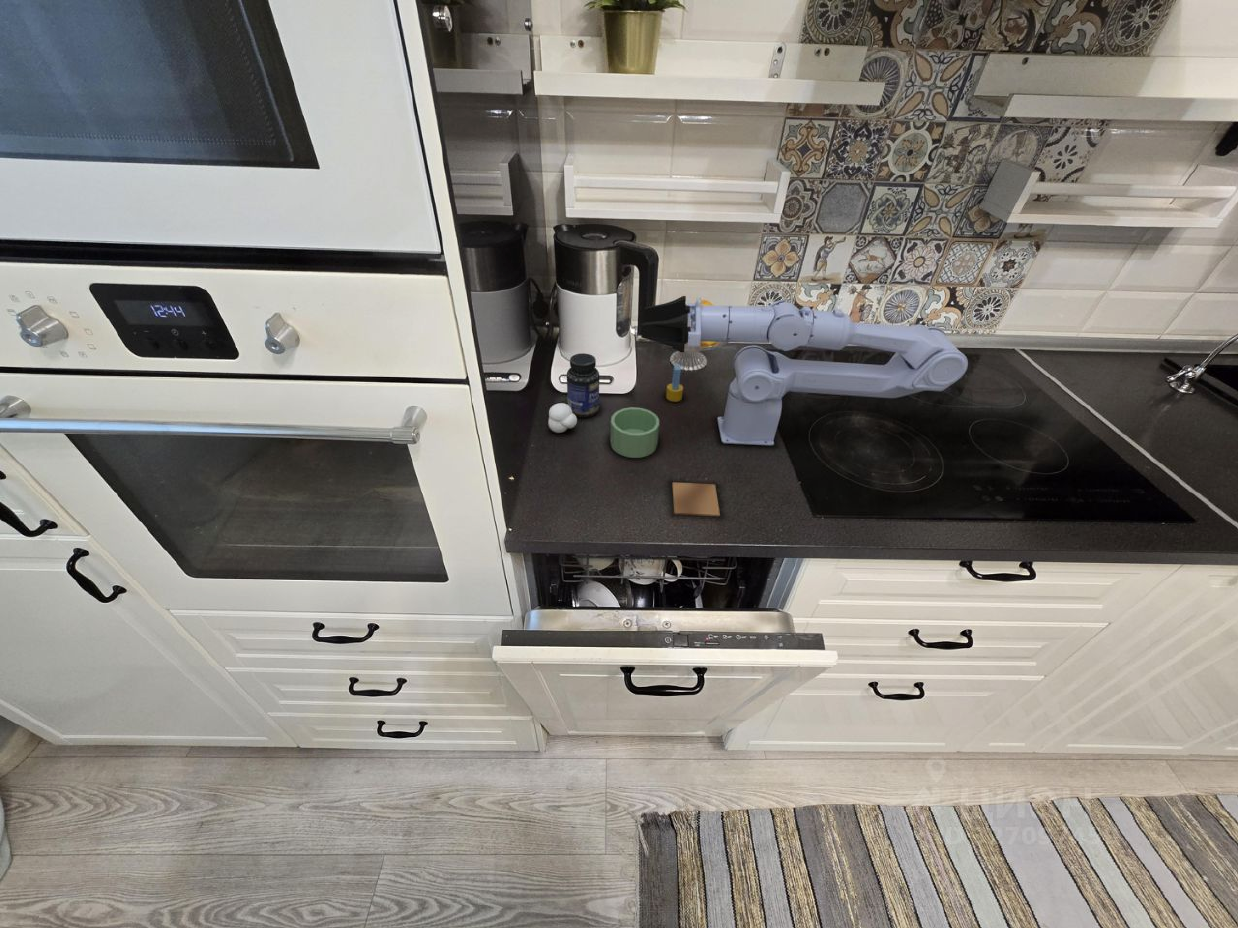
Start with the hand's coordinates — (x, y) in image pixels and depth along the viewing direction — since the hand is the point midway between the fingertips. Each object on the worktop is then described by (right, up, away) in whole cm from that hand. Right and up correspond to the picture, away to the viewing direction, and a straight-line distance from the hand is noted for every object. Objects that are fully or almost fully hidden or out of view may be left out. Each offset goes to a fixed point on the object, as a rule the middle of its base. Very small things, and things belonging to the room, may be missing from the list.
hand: (642, 322), depth 84 cm
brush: (+7, -10, +21) cm, 24 cm away
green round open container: (-1, -20, +8) cm, 21 cm away
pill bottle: (-11, -13, +16) cm, 23 cm away
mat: (+8, -29, -3) cm, 30 cm away
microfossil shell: (-14, -17, +11) cm, 25 cm away
